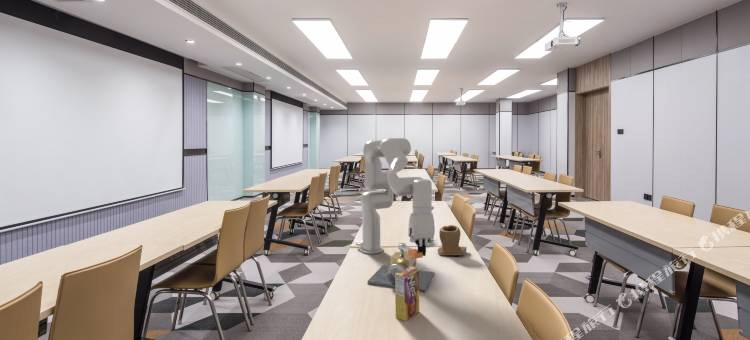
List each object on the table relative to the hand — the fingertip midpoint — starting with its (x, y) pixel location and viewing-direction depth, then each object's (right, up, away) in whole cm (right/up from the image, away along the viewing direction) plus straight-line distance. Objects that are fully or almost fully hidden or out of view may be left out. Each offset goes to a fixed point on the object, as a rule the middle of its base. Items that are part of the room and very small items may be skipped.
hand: (421, 255), depth 141 cm
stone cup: (+21, -9, +39) cm, 45 cm away
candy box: (-8, -15, -22) cm, 28 cm away
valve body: (-7, -12, +8) cm, 16 cm away
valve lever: (-5, +1, +2) cm, 5 cm away
